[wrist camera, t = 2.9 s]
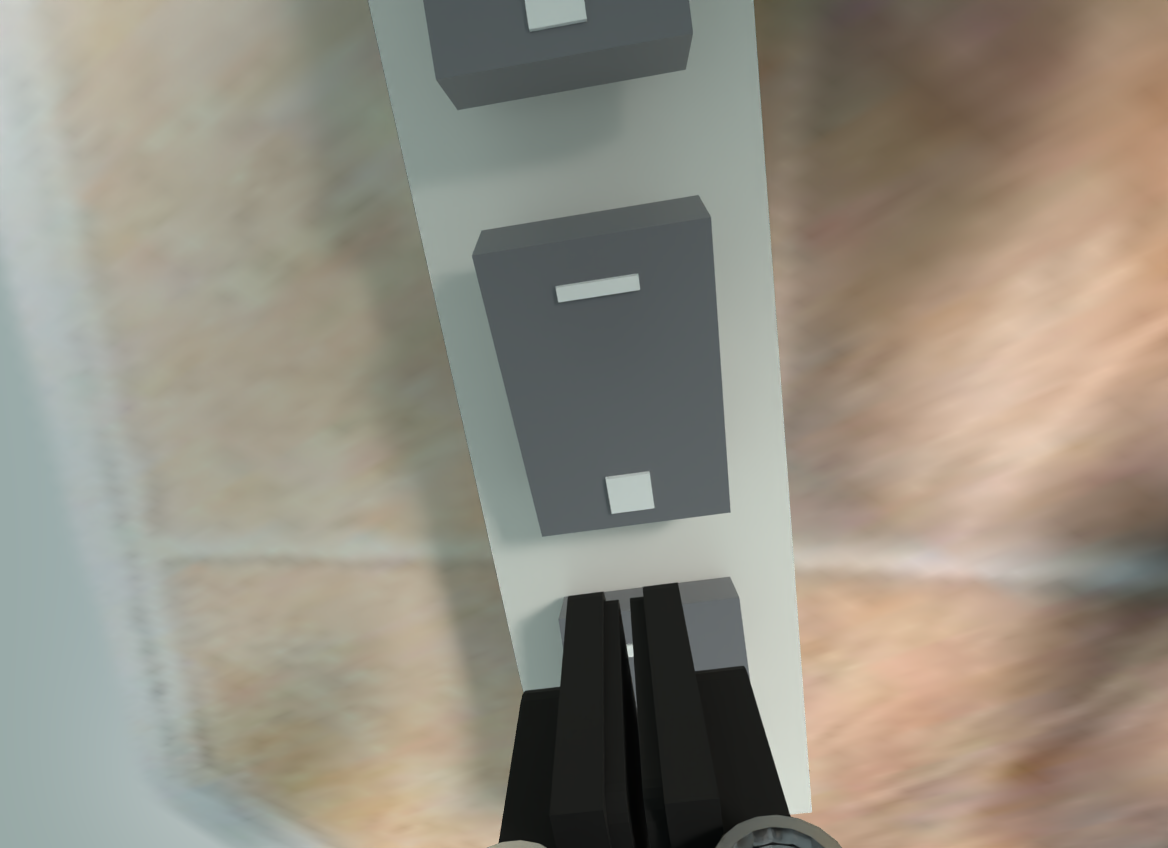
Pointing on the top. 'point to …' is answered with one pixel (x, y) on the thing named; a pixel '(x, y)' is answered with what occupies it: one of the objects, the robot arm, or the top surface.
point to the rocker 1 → (551, 45)
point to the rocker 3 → (694, 623)
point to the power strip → (744, 306)
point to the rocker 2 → (611, 362)
